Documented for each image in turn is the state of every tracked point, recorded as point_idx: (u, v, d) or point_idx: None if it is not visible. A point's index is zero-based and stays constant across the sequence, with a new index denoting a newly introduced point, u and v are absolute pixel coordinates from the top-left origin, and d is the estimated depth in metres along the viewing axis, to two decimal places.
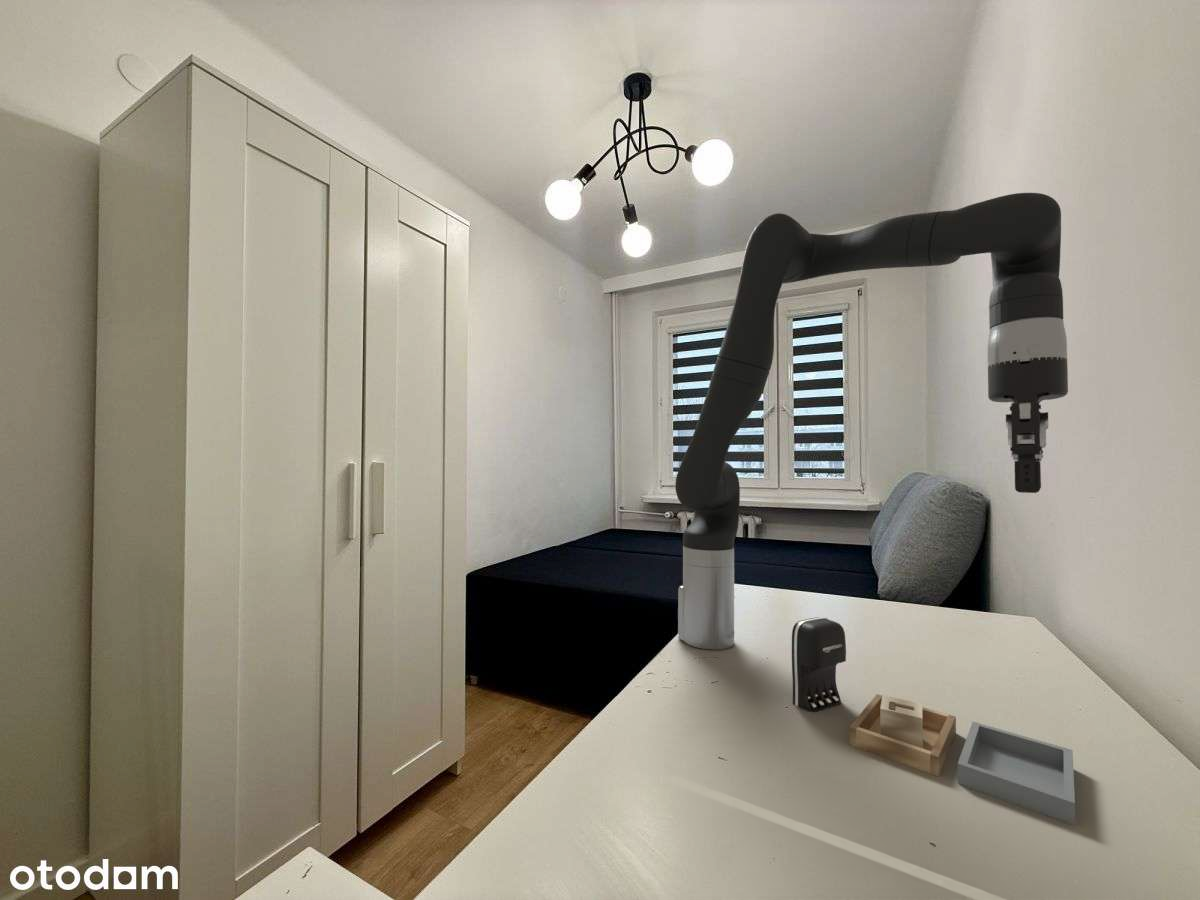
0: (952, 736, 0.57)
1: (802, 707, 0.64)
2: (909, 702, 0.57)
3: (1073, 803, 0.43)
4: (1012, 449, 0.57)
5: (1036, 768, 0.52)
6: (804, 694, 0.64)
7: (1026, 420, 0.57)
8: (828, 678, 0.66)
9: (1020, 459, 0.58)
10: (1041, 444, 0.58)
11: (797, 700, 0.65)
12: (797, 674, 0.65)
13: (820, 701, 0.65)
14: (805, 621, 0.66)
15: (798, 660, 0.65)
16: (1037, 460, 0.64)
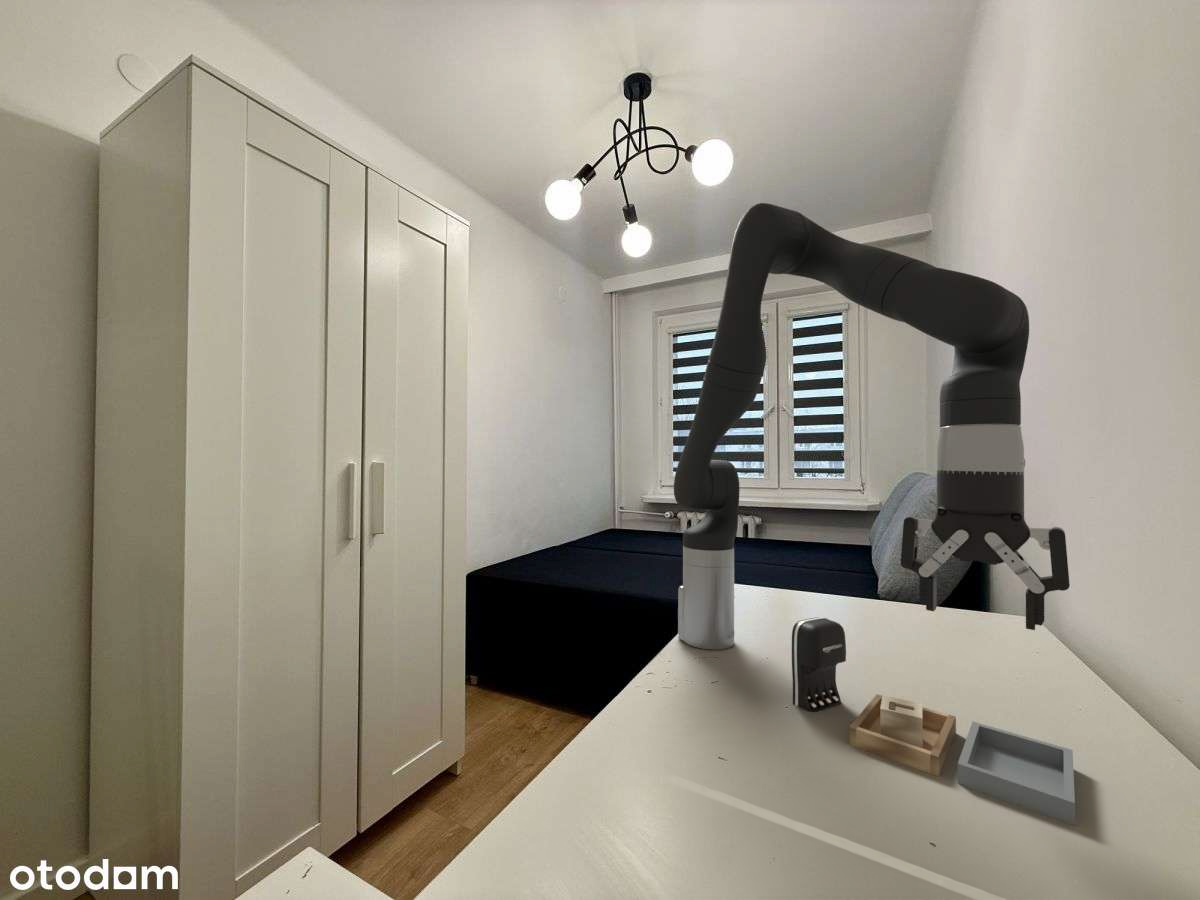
0: (952, 736, 0.57)
1: (802, 707, 0.64)
2: (909, 702, 0.57)
3: (1073, 803, 0.43)
4: (1067, 585, 0.48)
5: (1036, 768, 0.52)
6: (804, 694, 0.64)
7: None
8: (828, 678, 0.66)
9: None
10: None
11: (797, 700, 0.65)
12: (797, 674, 0.65)
13: (820, 701, 0.65)
14: (805, 621, 0.66)
15: (797, 660, 0.65)
16: None
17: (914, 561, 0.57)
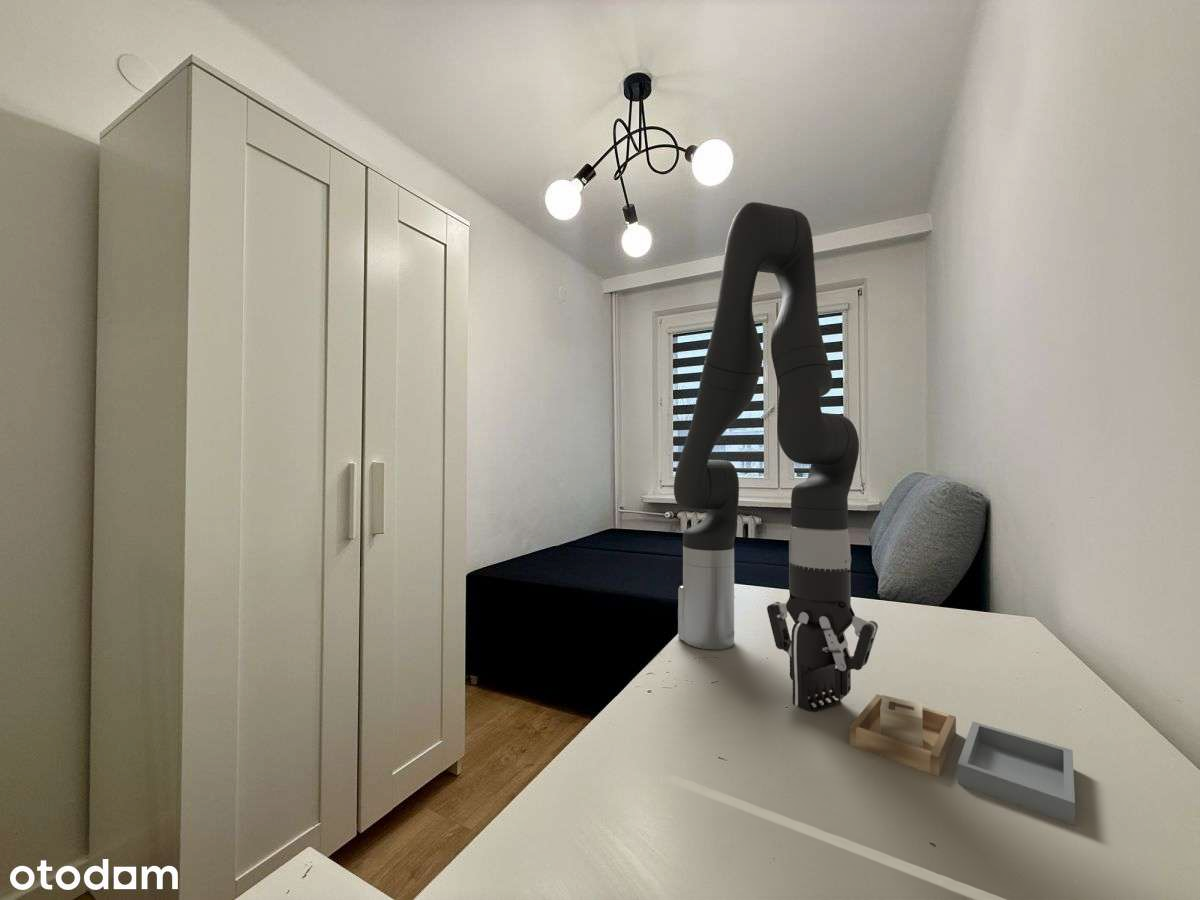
0: (952, 736, 0.57)
1: (802, 707, 0.64)
2: (909, 702, 0.57)
3: (1073, 803, 0.43)
4: (860, 667, 0.61)
5: (1036, 768, 0.52)
6: (804, 694, 0.64)
7: None
8: (828, 678, 0.67)
9: (848, 670, 0.63)
10: None
11: (797, 700, 0.65)
12: (797, 674, 0.65)
13: (820, 701, 0.65)
14: None
15: (797, 660, 0.65)
16: None
17: (786, 643, 0.68)
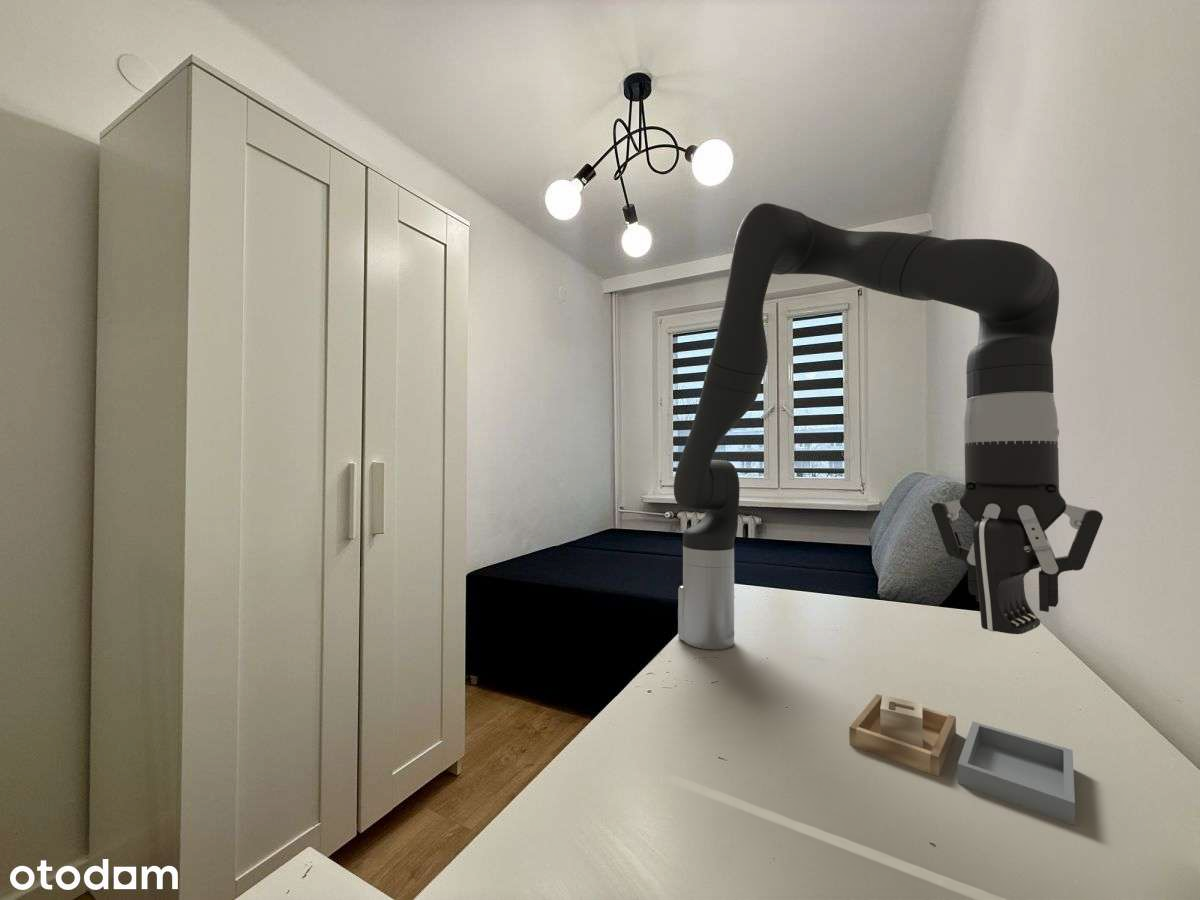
0: (952, 736, 0.57)
1: (1000, 627, 0.49)
2: (909, 702, 0.57)
3: (1073, 803, 0.43)
4: (1081, 567, 0.47)
5: (1036, 768, 0.52)
6: (1001, 610, 0.49)
7: None
8: (1018, 591, 0.52)
9: (1059, 573, 0.48)
10: None
11: (990, 619, 0.50)
12: (988, 585, 0.50)
13: (1019, 619, 0.50)
14: None
15: (988, 567, 0.50)
16: None
17: (961, 549, 0.53)
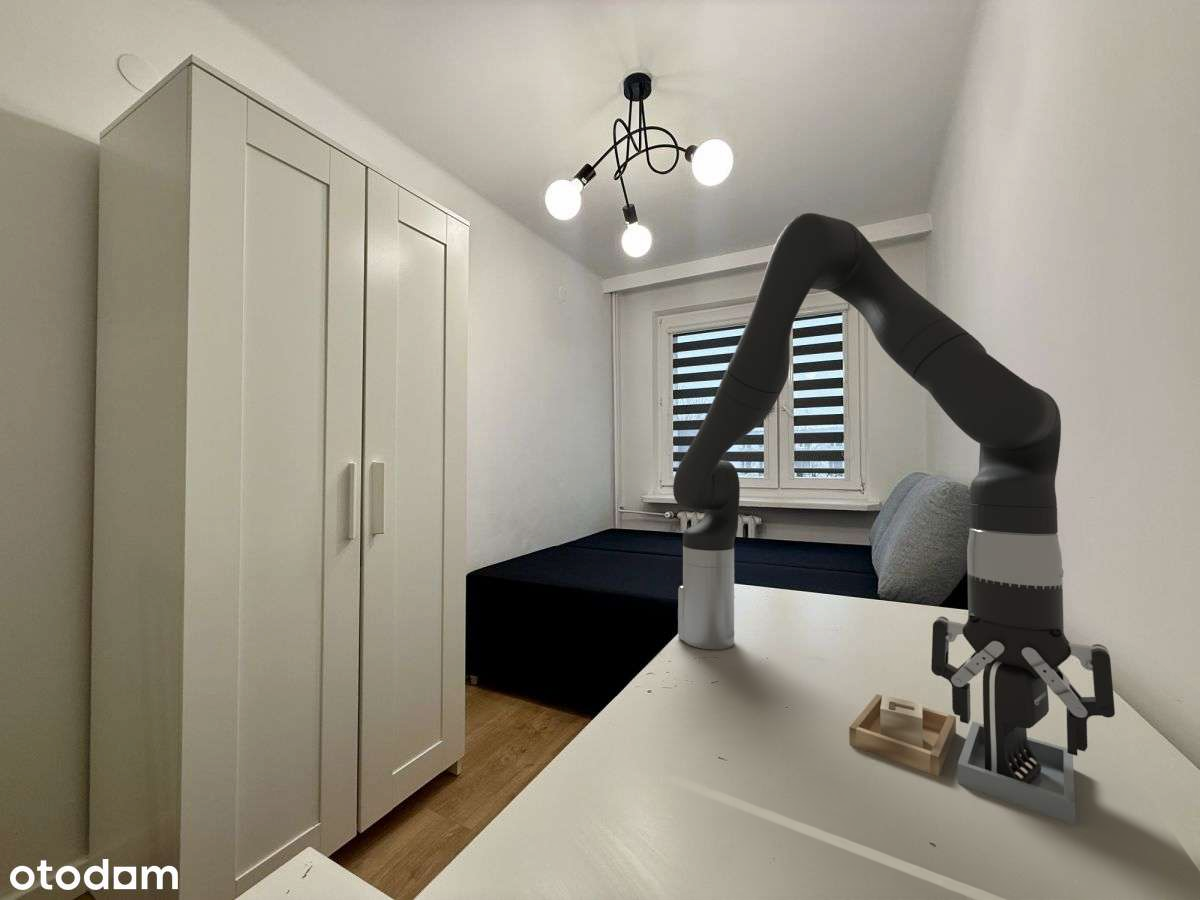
0: (952, 736, 0.57)
1: None
2: (909, 702, 0.57)
3: (1073, 803, 0.43)
4: (1112, 713, 0.45)
5: None
6: (1007, 761, 0.49)
7: None
8: (1021, 735, 0.51)
9: (1088, 716, 0.47)
10: None
11: (995, 768, 0.49)
12: (995, 735, 0.49)
13: (1022, 768, 0.49)
14: (999, 663, 0.50)
15: (996, 716, 0.49)
16: None
17: (946, 668, 0.54)
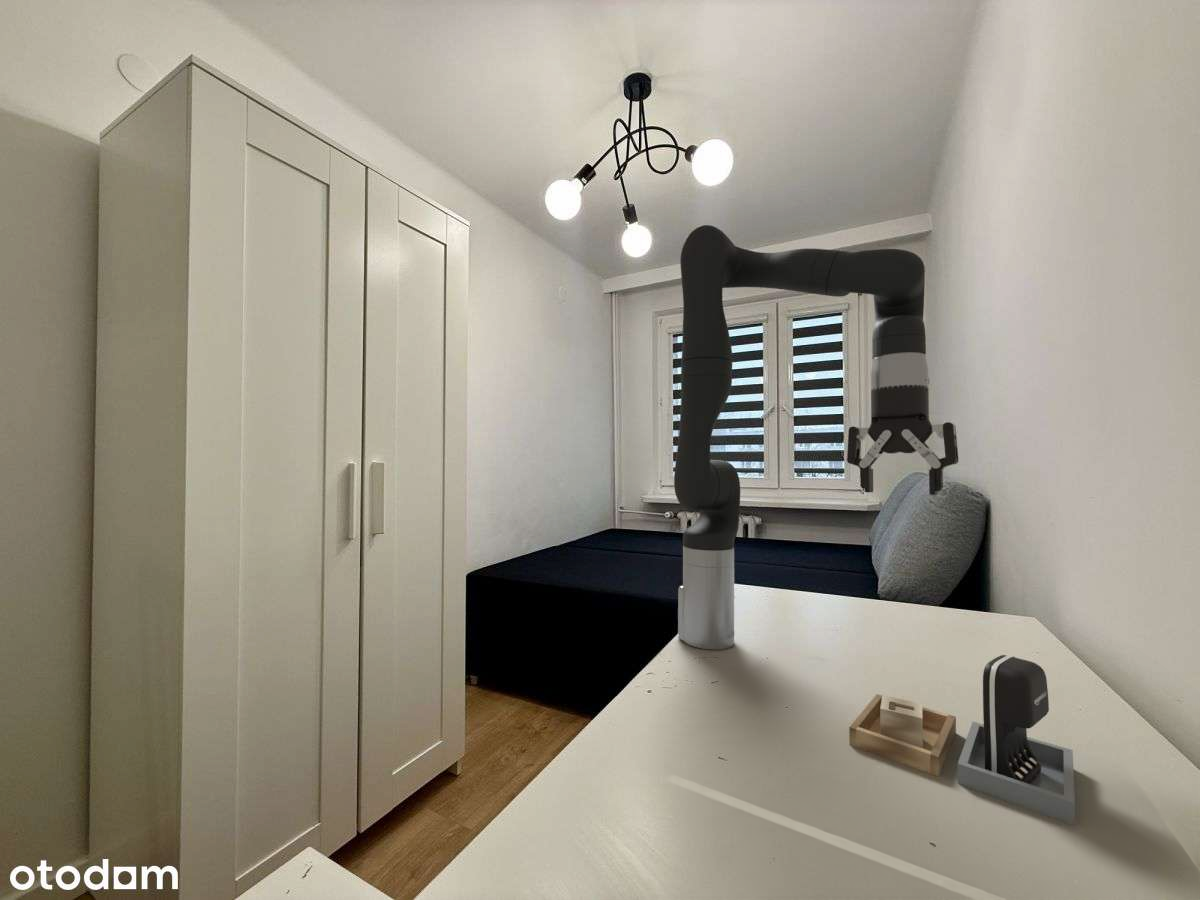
0: (952, 736, 0.57)
1: None
2: (909, 702, 0.57)
3: (1073, 803, 0.43)
4: (955, 460, 0.69)
5: None
6: (1007, 761, 0.49)
7: None
8: (1021, 735, 0.51)
9: (942, 468, 0.71)
10: None
11: (995, 768, 0.49)
12: (995, 735, 0.49)
13: (1022, 768, 0.49)
14: (999, 663, 0.50)
15: (996, 716, 0.49)
16: None
17: (856, 458, 0.78)
